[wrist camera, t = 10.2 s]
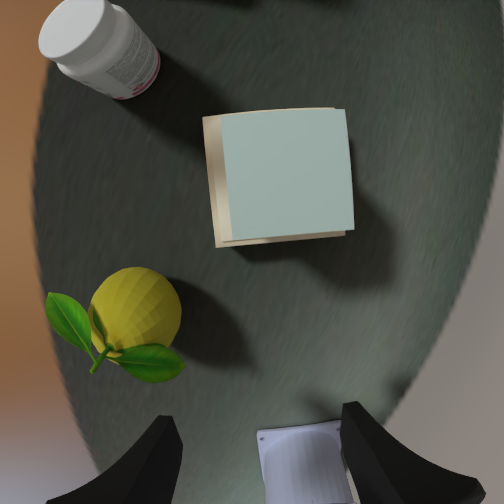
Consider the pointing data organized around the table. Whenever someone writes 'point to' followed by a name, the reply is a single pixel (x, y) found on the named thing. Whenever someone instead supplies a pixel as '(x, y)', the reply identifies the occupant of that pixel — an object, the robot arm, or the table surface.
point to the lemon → (125, 323)
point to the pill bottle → (100, 47)
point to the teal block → (287, 172)
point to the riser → (221, 193)
